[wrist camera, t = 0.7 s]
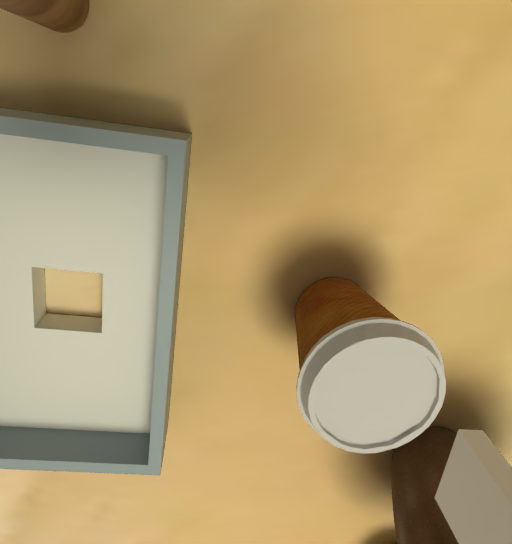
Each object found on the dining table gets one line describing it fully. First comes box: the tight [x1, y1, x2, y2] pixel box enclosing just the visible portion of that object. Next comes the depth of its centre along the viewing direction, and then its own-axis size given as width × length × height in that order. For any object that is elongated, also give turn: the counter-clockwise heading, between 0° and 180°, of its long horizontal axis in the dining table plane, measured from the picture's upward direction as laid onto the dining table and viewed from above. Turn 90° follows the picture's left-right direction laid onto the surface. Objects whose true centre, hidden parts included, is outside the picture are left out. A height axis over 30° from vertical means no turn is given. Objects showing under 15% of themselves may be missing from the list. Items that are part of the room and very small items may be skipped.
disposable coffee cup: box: [295, 277, 446, 454], centre depth 32 cm, size 10×10×12 cm
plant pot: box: [392, 427, 459, 544], centre depth 37 cm, size 15×15×16 cm
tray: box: [0, 107, 192, 475], centre depth 33 cm, size 26×16×6 cm, turn 172°
